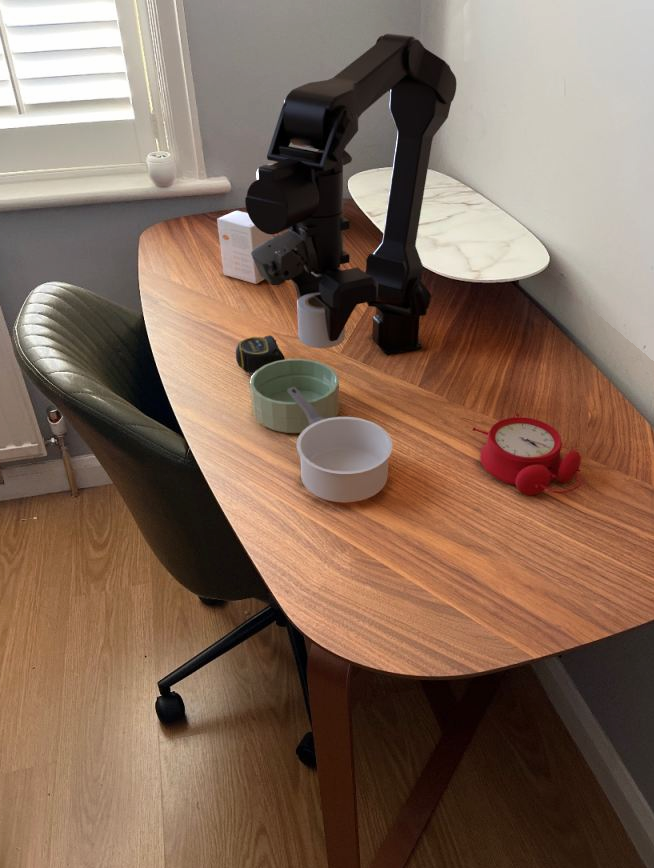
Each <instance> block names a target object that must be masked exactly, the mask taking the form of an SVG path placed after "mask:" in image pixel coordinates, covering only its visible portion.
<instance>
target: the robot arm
mask: <svg viewBox="0 0 654 868" xmlns="http://www.w3.org/2000/svg"><path fill="white" fill-rule="evenodd" d="M457 84H458V83H457V77H456V75H455V73H454V72H453V71H452V69H451V66H450V64H448V63H447V62H446V60H444V59H442V58H441V57H439V56H437V54H435V53H433V52H432V51H430V50H429V49H427V48H425V46H424V45H423V44H422V42H421V40H419V39H417V38H416V37H415V36H413V35H412V36H411V35H403V34H394V33H385V34H384V35H380V36H379V37H378V38H377V40H376V42H375V44H374V45H373V46H372V47H369V49H368V50H366V51H365V52H364V53H362V54H361V55H360V56H359V57H357V58H356V59H355V60H354V61H352V62H351V63H349V64H348V65H347V66H346V67H345V68H343V69H341V71H339V72H338V73H336V74H335V76H333V77H331V78H329V79H325V80H318V81H311V82H307V83H305V84H302V85H299V86H298V87H295V88H293V89H292V90H291V91H289V93H288V94H287V95H286V97H285V98H284V102H283V105H282V107H281V110H280V113H279V117H278V119H277V121H276V124H275V125H276V126H275V128H274V132H273V135H272V138H271V141H270V145H269V147H268V151H267V155H266V159H267V160H268V161H271V162H273V163H270V164H271V165H268V164H264V165H260V166H259V167H258V168H257V170H258V174H259V179H258V180H257V179H256V180H254V181H253V182H252V183H250V185H249V187H248V189H247V191H246V196H245V197H244V201H245V203H244V204H245V208H246V209H245V210H246V213H248V215H249V217H250V219H251V221H252V222H253V224H254V225H255V226H256V227H257V228H258V229H259V230H260V231H262V232H264V233H266V234H271V235H273V236H271V239H270V240H268V241H267V242H265V243H263V244H262V245H260V246H258V247H257V248H255V249H254V250H252V252H251V255H252V258H253V260H254V262H255V264H256V267H257V269H258V271H259V273H260V276H261V277H262V278H265V279H264V280H265V281H267V282H268V284H270V285H271V286H273V287H276V286H277V287H278V286H280V285H282V284H284V283H285V282H286V281H288V282H289V281H291V282H292V284H293V287H294V289H295V292H296V295H297V299H299V298H300V297H302V296H304V295H307V294H310V293H318V292H320V294H319V295H314V297H315V298H316V299H317V300H318V301H320V302H321V303H322V304H323V305H324V309H325V316H326V324H327V331H328V336H329V340H330V341H336V340H338V338H339V336H340V334H341V332H342V330H343V328H344V327H345V328H346V325H347V322H348V321H349V319H350V317H351V316H352V314H353V312H354V311H355V309H356V307H357V306H358V305H361V304H365V303H366V304H367V307H372V308H375V315H373V316H372V334H371V339H372V341H373V342H374V343H375V344H376V346H377V347H378V348H379V349H380V351H382V353H384V355H391V354H397V353H398V354H399V353H403V352H404V353H405V352H410V351H415V350H421V349H423V343H421V341H420V340H419V331H420V317H424V316H426V315H427V314H428V313H427V312H428V311H427V310H428V309H429V307H430V304H431V297H432V294H431V292H430V291H429V290H428V288H427V286H426V285H425V284H424V282H423V280H422V279H423V270H424V265H423V263H422V260H421V258H420V257H421V256H420V254H419V252H418V249H417V247H416V245H417V238H418V231H419V227H420V226H419V225H420V219H421V213H422V207H423V201H424V193H425V189H426V188H425V187H426V182H427V177H428V169H429V163H430V158H431V150H432V146H433V145H432V144H433V140H434V137H435V135H436V134H437V133H438V131H439V130H440V129H441V128H442V127H443V125H444V123H445V122H446V121H447V120H448V118H449V113H450V111H451V106H452V102H453V101H454V98H455V96H456V92H457ZM388 92H389V111H390V114H391V117H392V120H393V123H394V126H395V128H396V131H397V136H396V143H395V150H394V158H393V163H392V164H393V165H392V172H391V179H390V185H389V193H388V199H387V200H388V201H387V209H386V215H385V221H384V222H385V223H384V229H383V237H382V241H381V243H380V245H379V246H378V247H377V249H375V250H374V252H373V253H371V252H370V253H369V254H368V256H367V257H366V262H365V263H366V264H365V271H364V270H362V269H361V268H359V267H357V266H356V267H352V268H347V269H343V268H340V267H341V265H345V264H349V263H350V261H351V260H350V259H351V258H350V256H351V255H350V253H348V252H346V251H345V250H344V231H348V230H350V229H351V220H350V219H348V218H346V217H344V166H346V165H348V164H350V163H352V161H353V157H352V156H351V155H350V154H349V152H348V151H346V150H345V149H346V147H347V146H348V145H349V144H350V142H351V141H352V139H353V138H354V137H355V136H356V134H357V133H358V132H359V118H360V117H361V116H362V114H364V112H365V111H367V110H368V109H369V108H371V106H372V105H374V104H375V103H376V102H378V101H379V100H380V99H381V98H382V97H383V96H384V95H385V94H386V93H388ZM290 145H293V146H290ZM295 146H297V147H295ZM299 147H301V148H299ZM302 147H303V148H302ZM306 148H309V149H306ZM311 149H313V150H311ZM315 150H316V151H315ZM282 232H283V233H282ZM276 234H277V235H276Z"/></svg>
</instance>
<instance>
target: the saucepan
mask: <svg viewBox="0 0 654 868" xmlns="http://www.w3.org/2000/svg"><path fill="white" fill-rule="evenodd" d="M287 392H288V393H289V394H290V396H291V397H292V398H293V399H294V400H295V402H296V403H297V404H298V405H299V406H300V407H301V409H302V410H303V411H304V412H305V414H306V416H307V419H308V421H309V424H310V426H308V427H307V428H306V429H304V430H303V431H302V433H299V435H298V437H297V439H296V450H297V454H298V455H299V458H300V477H301V481H302V483H303V485H304V488H305V489H306V490H308V491H309V492H310V493H311V494H313V495H314V496H316V497H318V498H320V499H323V500H326V501H329V502H334V503H335V502H336V503H354V502H361V501H364V500H367V499H369V498H371V497H374V496H375V495H377V494H378V493H380V491H382V489H384V487H385V486H386V484H387V482H388V476H389V458H390V456H391V454H392V452H393V451H392V450H393V440H392V438H391V436H390V434H389V433H388V432H387V430H385V428H383V426H381V425H379V424H377V423H375V422H373V421H370V420H368V419H364V418H361V417H354V416H336V417H333V418H328V419H325V418H323V417H321V416H320V414H319V413H318V412H317V411H316V409H315V408H314V407H313V406H312V405H311V404H310V403H309V402H308V401H307V400H306V398H305V397H304V396H303V395H302V394H301V393H300V392H299V391H298V390H297V389H296V387H291V388H288V389H287Z"/></svg>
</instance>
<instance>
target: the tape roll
mask: <svg viewBox="0 0 654 868" xmlns="http://www.w3.org/2000/svg"><path fill="white" fill-rule="evenodd" d="M319 294H320V292H318V293H310V294H307V295H304V296H302V297H300V298H297V301H296V308H297V309H296V311H297V333H298V334H297V335H298V337H297V338H298V340H299V342H300V343H301V344H302V345H305V346H307V347H310V348H314V349H329V348H334V347H336V346H339V345H341V344H342V343H343V342H344V341H345V339H346V326H345V327H344V328H343V330H342V332H341V334H340V336H339V338H338V340H336V341H330V340H329V336H328V331H327V324H326V316H325V309H324V305H323V304H322V303H321V302H320V301H318V300H317V299H316V298H315V297H314V295H319Z"/></svg>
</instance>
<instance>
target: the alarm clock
mask: <svg viewBox="0 0 654 868" xmlns="http://www.w3.org/2000/svg"><path fill="white" fill-rule="evenodd" d="M472 431H473V432H475V431H476V432H479V433H480V434H483V435H486V436H487V439H486V443H485V444H484V445H483V446H482V448H481V450H480V455H479V460H480V464H481V466H482V467H483V469H484V470H485V471H486V472H487V473H488V474H489V475H490V476H492V477H494V478H495V479H497V480H499V481H501V482H503V483H505V484H510V485H514V486H515V487H516V489H517V491H518V492H519V493H521V494H522V495H526V496H535V495H538V494H541V493H543V492H544V491H548V492H550V493H553V494H566V493H569V492H572V491H574V490H577V489H578V488H579V487H581V486H582V484H583V480H582V477H581V476H580V475H579V473H581V472H582V470H581V469H580V466H581V462H582V457H581V454H580V452H578V451H577V450H575V449H571V450H570V451H568V453H567V454H566V455H565V456H564V457H563V458H562V456H561V451H562V447H563V442H562V437H561V435H560V433H559V432H558V431H557V430H556V428H554V427H553V426H551V425H550V424H548V423H546V422H544V421H541V420H539V419H534V418H531V417H524V416H520V413H518V412H517V413H515V416H514V417H507V418H504V419H501V420H499V421H497V422H495V423H494V424H493V425H492V426H491V427H490V429H489V431H488V432H487V431H484V430H481V429H477V428H476V427H473V428H472ZM575 476H576V477H577V478H578V479H579V483H578V484H577V485H576V486H573V487H572V488H569V489H565V490H553V489H550V488H548V486H549V484H550V482H552V481H554V480H557V481H558V482H559V483H563V484H565V483H568V482H571V480H573V479H574V478H575Z"/></svg>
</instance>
